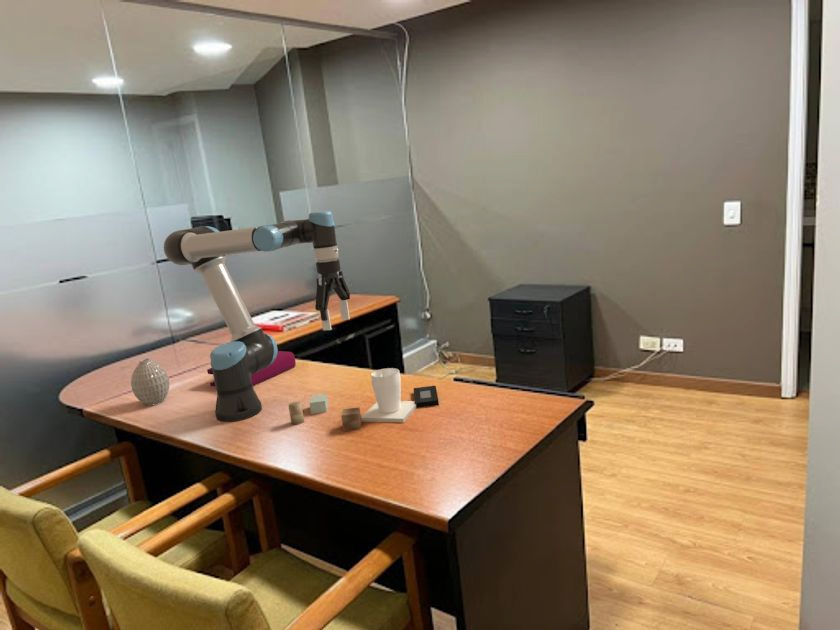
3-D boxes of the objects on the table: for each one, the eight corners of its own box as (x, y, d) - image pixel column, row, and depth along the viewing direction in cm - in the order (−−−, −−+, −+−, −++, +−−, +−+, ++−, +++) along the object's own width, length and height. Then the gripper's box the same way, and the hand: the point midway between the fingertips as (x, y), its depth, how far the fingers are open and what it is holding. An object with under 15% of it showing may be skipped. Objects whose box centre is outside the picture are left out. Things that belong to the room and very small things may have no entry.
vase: (130, 405, 231) (120, 362, 228) (163, 394, 240) (154, 352, 237) (144, 411, 222) (135, 367, 219) (178, 399, 231) (169, 356, 228)
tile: (361, 421, 190) (360, 417, 190) (378, 404, 203) (378, 400, 202) (403, 422, 185) (403, 418, 185) (418, 404, 198) (418, 401, 198)
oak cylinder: (289, 424, 194) (286, 406, 193) (295, 419, 198) (292, 401, 196) (300, 425, 193) (297, 406, 191) (306, 419, 196) (303, 402, 195)
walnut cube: (343, 431, 184) (341, 415, 183) (345, 424, 189) (343, 409, 188) (360, 429, 184) (358, 413, 183) (361, 422, 189) (359, 407, 188)
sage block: (311, 414, 201) (309, 402, 200) (313, 406, 208) (311, 395, 207) (326, 412, 201) (324, 400, 200) (328, 404, 208) (326, 393, 207)
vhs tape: (415, 409, 196) (414, 403, 195) (414, 393, 210) (413, 388, 209) (439, 406, 196) (438, 400, 195) (436, 391, 210) (435, 385, 209)
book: (296, 368, 256) (293, 350, 254) (246, 391, 233) (242, 372, 231) (260, 365, 267) (257, 348, 265) (208, 387, 244) (205, 368, 242)
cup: (400, 414, 188) (395, 376, 186) (372, 415, 190) (367, 378, 188) (407, 403, 197) (402, 367, 194) (380, 404, 199) (375, 368, 196)
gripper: (319, 266, 185) (329, 334, 190) (354, 253, 208) (362, 314, 213) (297, 267, 188) (308, 335, 193) (334, 254, 211) (343, 315, 215)
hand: (336, 324), depth 203 cm, fingers open, 13 cm apart
